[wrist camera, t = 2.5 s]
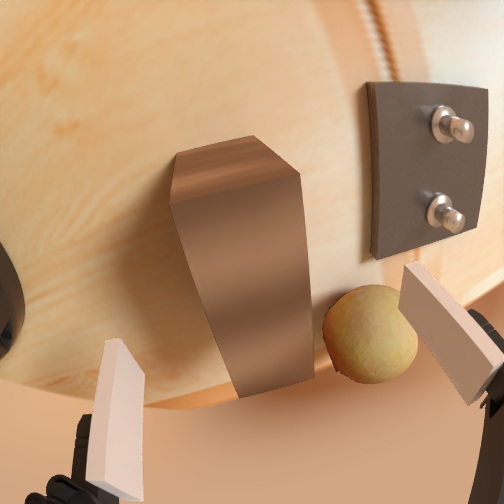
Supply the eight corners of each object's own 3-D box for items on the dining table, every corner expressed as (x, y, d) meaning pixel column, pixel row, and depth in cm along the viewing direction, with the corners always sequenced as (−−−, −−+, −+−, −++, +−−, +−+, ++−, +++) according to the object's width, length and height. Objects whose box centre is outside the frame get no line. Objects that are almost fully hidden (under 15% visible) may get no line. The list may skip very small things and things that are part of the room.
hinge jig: (370, 253, 23) (393, 278, 20) (366, 81, 16) (399, 85, 13) (469, 222, 24) (493, 240, 21) (479, 87, 17) (510, 94, 14)
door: (279, 294, 23) (314, 377, 17) (221, 309, 23) (239, 398, 16) (253, 135, 17) (299, 173, 10) (176, 153, 17) (168, 204, 10)
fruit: (381, 322, 28) (421, 382, 21) (303, 340, 27) (335, 413, 20) (401, 258, 24) (457, 317, 17) (313, 271, 23) (359, 348, 16)
